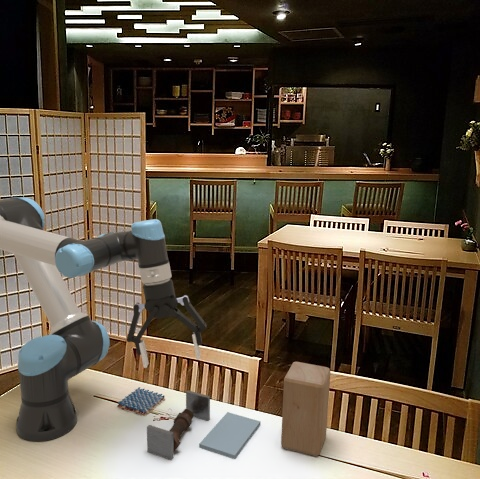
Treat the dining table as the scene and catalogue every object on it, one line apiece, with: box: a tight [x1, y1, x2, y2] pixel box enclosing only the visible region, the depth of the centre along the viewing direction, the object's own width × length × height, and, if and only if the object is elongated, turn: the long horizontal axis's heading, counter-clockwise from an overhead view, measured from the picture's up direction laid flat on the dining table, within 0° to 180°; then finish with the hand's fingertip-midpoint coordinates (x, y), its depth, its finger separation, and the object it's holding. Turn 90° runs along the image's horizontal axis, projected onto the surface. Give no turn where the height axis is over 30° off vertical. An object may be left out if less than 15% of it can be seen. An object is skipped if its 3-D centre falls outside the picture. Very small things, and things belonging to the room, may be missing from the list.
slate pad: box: [198, 411, 261, 460], centre depth 130 cm, size 10×16×1 cm, turn 155°
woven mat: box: [116, 386, 166, 417], centre depth 145 cm, size 10×11×2 cm
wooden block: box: [280, 361, 331, 457], centre depth 126 cm, size 10×10×20 cm
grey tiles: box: [146, 389, 211, 461], centre depth 130 cm, size 7×19×7 cm, turn 155°
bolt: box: [168, 408, 194, 453], centre depth 130 cm, size 6×5×15 cm
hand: (172, 361), depth 127 cm, fingers open, 13 cm apart
